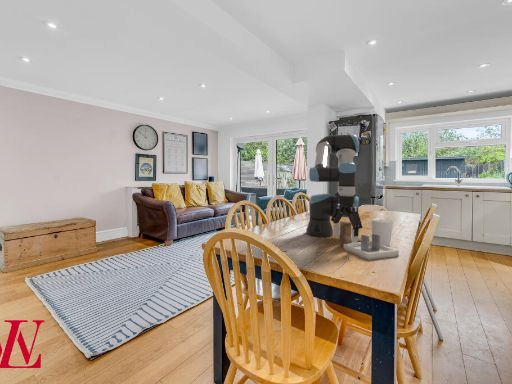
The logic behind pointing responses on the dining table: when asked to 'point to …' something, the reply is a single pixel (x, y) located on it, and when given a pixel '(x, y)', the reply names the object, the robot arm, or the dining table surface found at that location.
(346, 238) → the brown rectangular block
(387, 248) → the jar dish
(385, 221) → the candle holder
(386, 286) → the dining table surface
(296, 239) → the dining table surface
